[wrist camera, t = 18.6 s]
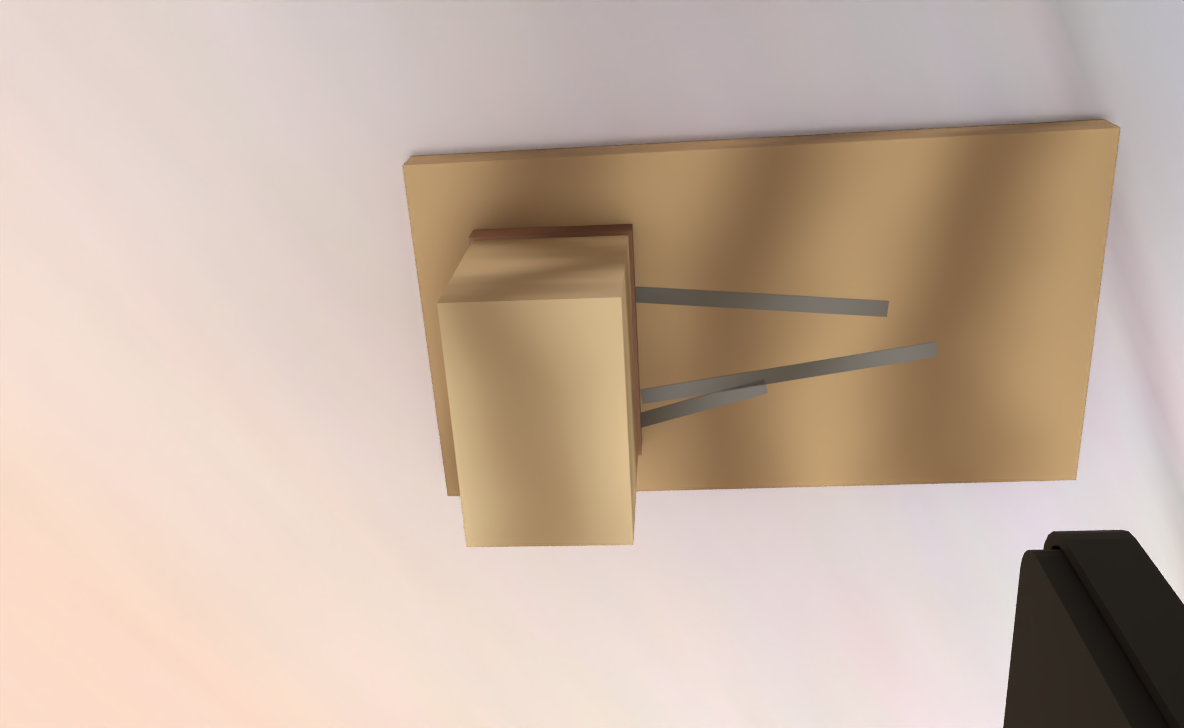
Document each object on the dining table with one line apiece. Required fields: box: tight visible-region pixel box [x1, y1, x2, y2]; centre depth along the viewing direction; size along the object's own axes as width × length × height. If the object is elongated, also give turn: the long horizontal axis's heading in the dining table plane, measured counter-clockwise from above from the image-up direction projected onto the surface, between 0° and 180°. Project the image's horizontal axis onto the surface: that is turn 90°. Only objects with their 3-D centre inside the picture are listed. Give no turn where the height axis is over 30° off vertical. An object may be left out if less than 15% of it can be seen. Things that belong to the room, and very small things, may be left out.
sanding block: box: [437, 224, 642, 547], centre depth 30 cm, size 5×7×6 cm, turn 3°
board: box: [402, 120, 1120, 496], centre depth 33 cm, size 20×11×1 cm, turn 94°
